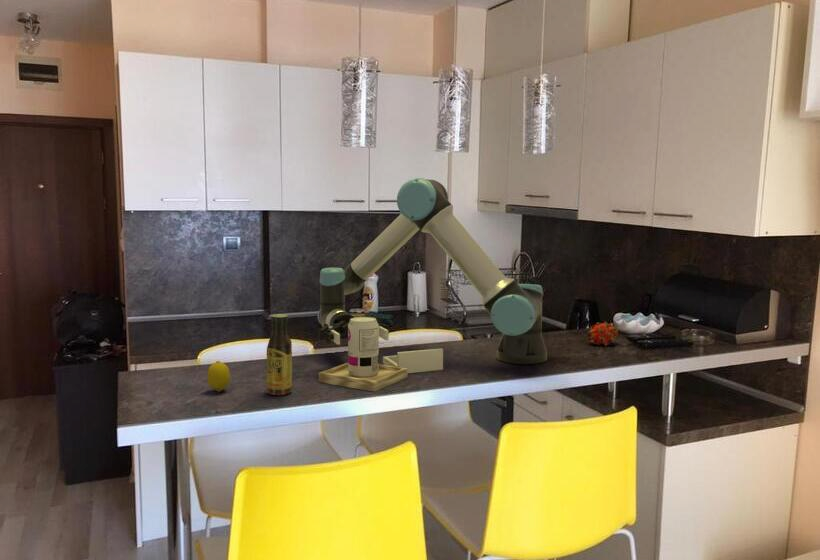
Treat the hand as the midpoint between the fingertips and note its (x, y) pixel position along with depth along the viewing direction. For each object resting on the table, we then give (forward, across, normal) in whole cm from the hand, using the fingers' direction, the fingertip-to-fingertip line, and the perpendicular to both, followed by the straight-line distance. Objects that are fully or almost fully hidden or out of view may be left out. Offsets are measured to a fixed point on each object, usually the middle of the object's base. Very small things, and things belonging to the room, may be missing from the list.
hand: (363, 337), depth 177 cm
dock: (-9, -18, -12) cm, 23 cm away
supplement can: (-1, 0, -10) cm, 10 cm away
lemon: (-3, +37, -12) cm, 39 cm away
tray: (0, 0, -12) cm, 12 cm away
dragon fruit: (-12, -87, -12) cm, 89 cm away
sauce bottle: (+4, +23, -12) cm, 26 cm away
